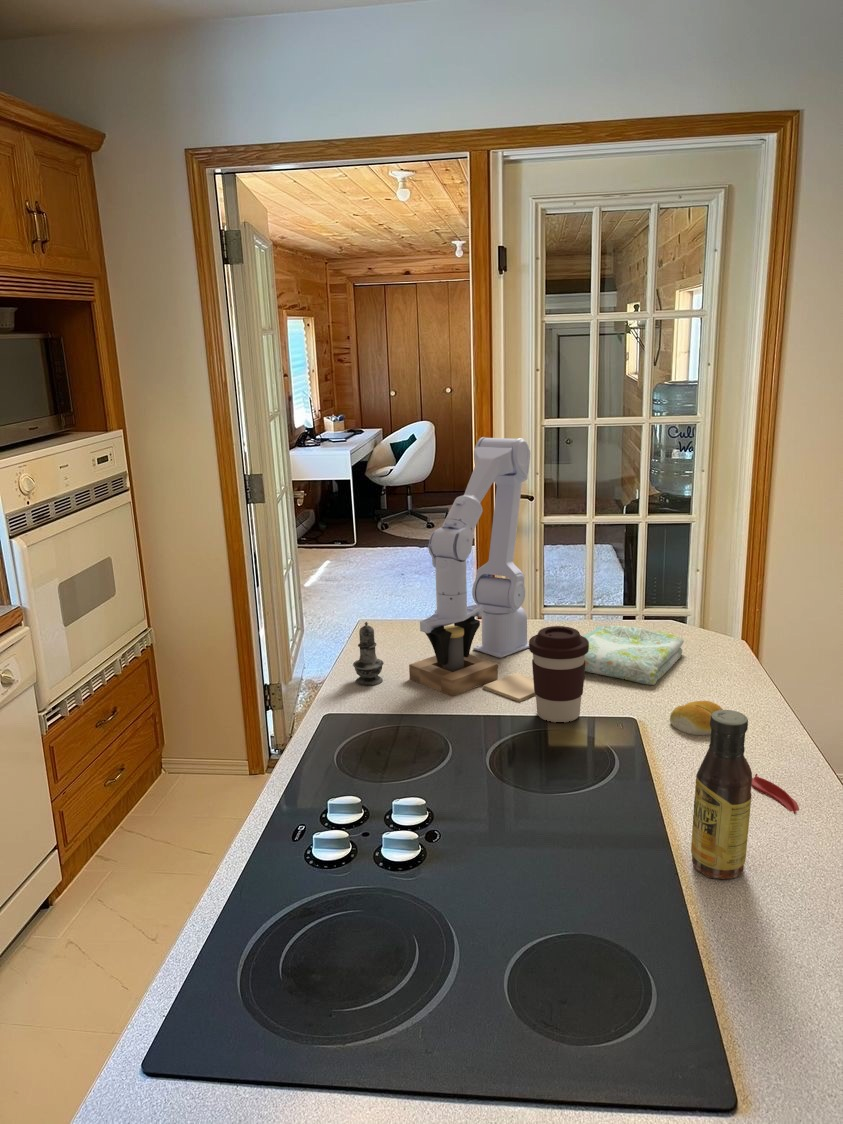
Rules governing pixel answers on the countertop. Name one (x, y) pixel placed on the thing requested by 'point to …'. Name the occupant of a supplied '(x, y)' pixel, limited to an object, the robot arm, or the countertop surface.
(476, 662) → the wooden square frame
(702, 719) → the bread roll
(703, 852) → the sauce bottle
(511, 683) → the coaster
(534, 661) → the coffee cup
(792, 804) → the cayenne pepper
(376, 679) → the salt shaker
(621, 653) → the towel
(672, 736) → the countertop surface
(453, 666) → the plug
